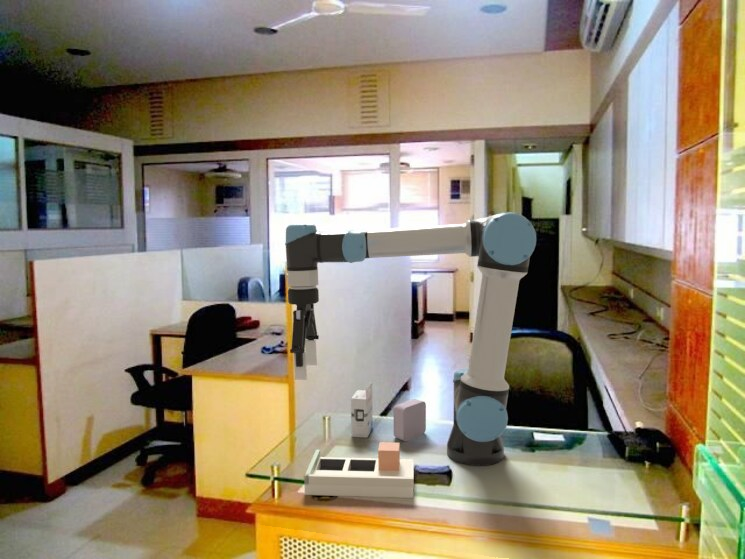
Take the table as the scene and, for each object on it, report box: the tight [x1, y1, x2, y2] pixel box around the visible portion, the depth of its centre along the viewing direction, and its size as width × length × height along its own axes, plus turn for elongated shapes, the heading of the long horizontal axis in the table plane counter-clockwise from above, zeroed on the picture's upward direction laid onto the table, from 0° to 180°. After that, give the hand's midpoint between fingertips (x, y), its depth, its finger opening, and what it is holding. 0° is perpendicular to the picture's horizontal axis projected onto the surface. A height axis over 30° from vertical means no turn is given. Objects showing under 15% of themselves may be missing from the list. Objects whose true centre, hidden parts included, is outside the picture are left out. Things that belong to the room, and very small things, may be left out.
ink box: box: [350, 381, 373, 438], centre depth 162 cm, size 9×5×15 cm, turn 168°
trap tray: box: [303, 449, 415, 499], centre depth 131 cm, size 25×15×4 cm, turn 85°
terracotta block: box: [377, 441, 401, 471], centre depth 134 cm, size 5×5×5 cm
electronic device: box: [393, 398, 427, 442], centre depth 160 cm, size 10×5×10 cm, turn 135°
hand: (306, 371), depth 136 cm, fingers open, 13 cm apart
